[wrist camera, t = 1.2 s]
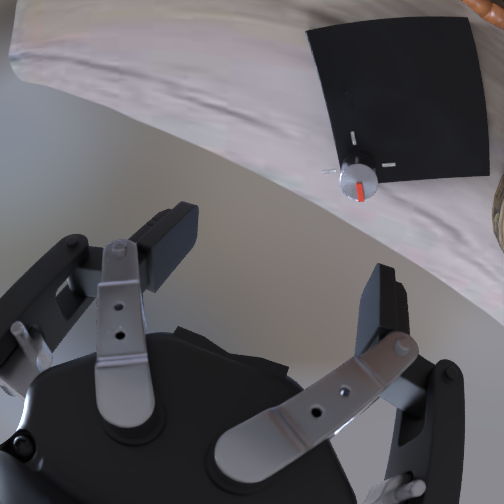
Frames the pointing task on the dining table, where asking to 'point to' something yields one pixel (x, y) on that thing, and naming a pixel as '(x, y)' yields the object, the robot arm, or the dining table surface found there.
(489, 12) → the brown segmented ring
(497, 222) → the tan disc
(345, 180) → the hob knob
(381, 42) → the hob
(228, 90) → the dining table surface
